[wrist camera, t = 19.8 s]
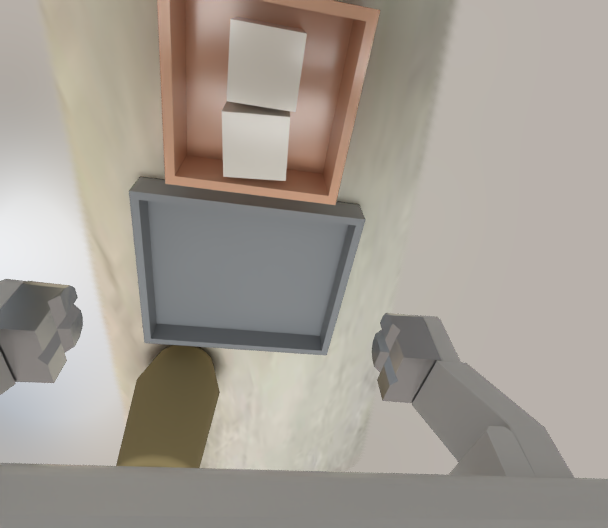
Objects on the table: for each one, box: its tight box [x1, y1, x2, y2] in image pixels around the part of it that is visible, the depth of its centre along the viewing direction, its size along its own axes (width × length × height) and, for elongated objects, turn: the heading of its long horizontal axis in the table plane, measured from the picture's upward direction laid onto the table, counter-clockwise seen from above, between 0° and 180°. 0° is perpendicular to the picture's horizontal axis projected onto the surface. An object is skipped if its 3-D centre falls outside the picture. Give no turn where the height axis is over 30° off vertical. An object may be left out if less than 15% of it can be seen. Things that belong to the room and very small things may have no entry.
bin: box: [157, 0, 380, 205], centre depth 24 cm, size 11×11×5 cm
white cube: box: [227, 16, 307, 112], centre depth 22 cm, size 4×4×4 cm
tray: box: [129, 177, 365, 355], centre depth 33 cm, size 15×17×3 cm
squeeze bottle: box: [116, 345, 220, 468], centre depth 33 cm, size 8×8×18 cm
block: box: [222, 101, 290, 181], centre depth 25 cm, size 4×4×4 cm
